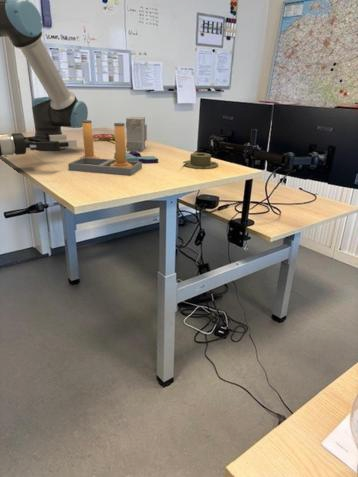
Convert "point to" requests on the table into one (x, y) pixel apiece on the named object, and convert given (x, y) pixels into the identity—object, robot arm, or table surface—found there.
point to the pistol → (139, 157)
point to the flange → (200, 161)
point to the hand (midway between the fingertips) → (71, 140)
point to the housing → (103, 166)
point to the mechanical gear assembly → (104, 137)
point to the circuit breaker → (136, 133)
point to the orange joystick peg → (88, 139)
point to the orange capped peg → (120, 147)
